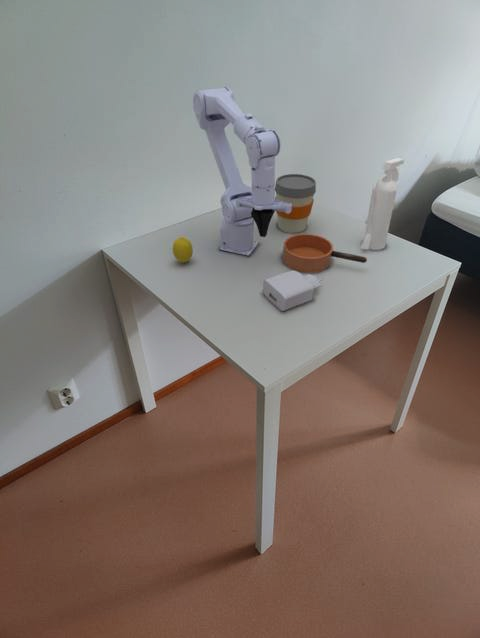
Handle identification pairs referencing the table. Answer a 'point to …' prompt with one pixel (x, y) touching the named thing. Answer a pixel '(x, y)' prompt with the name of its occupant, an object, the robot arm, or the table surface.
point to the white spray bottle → (381, 206)
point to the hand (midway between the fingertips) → (263, 235)
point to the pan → (307, 253)
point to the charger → (290, 289)
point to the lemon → (182, 249)
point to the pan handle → (348, 256)
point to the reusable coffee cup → (295, 201)
